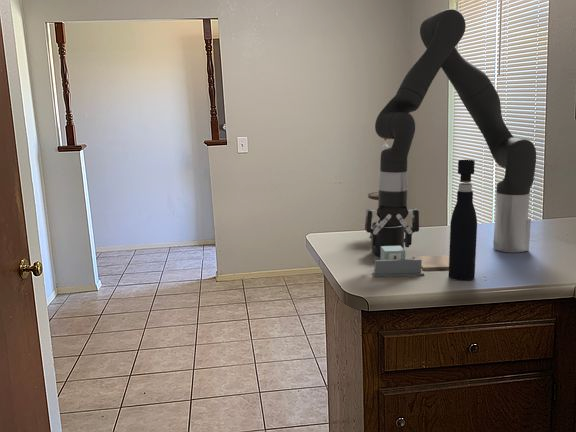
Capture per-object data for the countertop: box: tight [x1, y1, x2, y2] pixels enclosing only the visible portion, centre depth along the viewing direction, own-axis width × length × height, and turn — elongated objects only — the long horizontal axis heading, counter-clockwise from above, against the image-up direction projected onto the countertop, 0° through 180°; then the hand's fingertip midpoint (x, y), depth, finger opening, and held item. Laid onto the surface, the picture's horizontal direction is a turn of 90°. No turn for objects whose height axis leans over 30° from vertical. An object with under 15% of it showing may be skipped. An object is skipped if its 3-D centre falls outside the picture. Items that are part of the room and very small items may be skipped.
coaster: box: [412, 254, 449, 271], centre depth 156 cm, size 11×11×1 cm
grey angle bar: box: [372, 258, 425, 278], centre depth 147 cm, size 13×3×4 cm, turn 92°
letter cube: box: [380, 246, 406, 260], centre depth 153 cm, size 6×6×6 cm
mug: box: [371, 221, 406, 258], centre depth 168 cm, size 9×12×9 cm
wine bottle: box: [448, 159, 478, 282], centre depth 142 cm, size 6×6×30 cm
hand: (391, 247), depth 153 cm, fingers open, 8 cm apart
